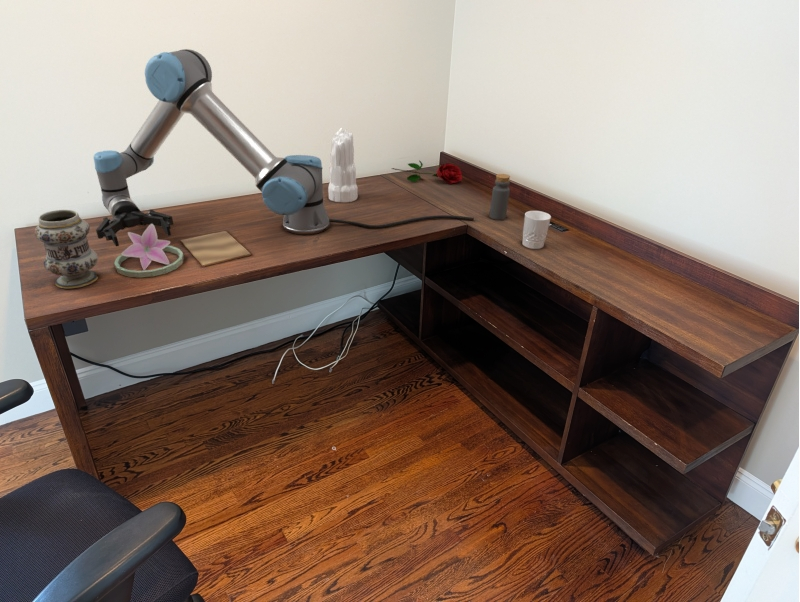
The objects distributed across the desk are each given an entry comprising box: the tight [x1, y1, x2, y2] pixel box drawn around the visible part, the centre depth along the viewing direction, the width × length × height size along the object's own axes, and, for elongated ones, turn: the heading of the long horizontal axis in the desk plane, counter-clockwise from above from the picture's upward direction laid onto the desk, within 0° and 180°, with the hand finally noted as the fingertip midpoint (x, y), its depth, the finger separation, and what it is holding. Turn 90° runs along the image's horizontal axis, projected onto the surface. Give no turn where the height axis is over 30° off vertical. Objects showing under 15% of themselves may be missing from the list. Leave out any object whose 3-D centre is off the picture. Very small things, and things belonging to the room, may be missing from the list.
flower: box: [391, 160, 463, 185], centre depth 220 cm, size 9×10×30 cm
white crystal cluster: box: [327, 127, 359, 204], centre depth 195 cm, size 11×11×25 cm
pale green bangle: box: [113, 245, 185, 279], centre depth 148 cm, size 17×17×2 cm
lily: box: [121, 224, 171, 271], centre depth 147 cm, size 12×12×10 cm
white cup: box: [521, 210, 552, 250], centre depth 167 cm, size 8×8×10 cm
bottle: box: [489, 173, 511, 221], centre depth 185 cm, size 6×6×15 cm
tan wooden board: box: [180, 230, 252, 267], centre depth 158 cm, size 20×14×1 cm
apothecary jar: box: [34, 209, 99, 290], centre depth 134 cm, size 12×12×18 cm
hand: (143, 236), depth 146 cm, fingers open, 13 cm apart
